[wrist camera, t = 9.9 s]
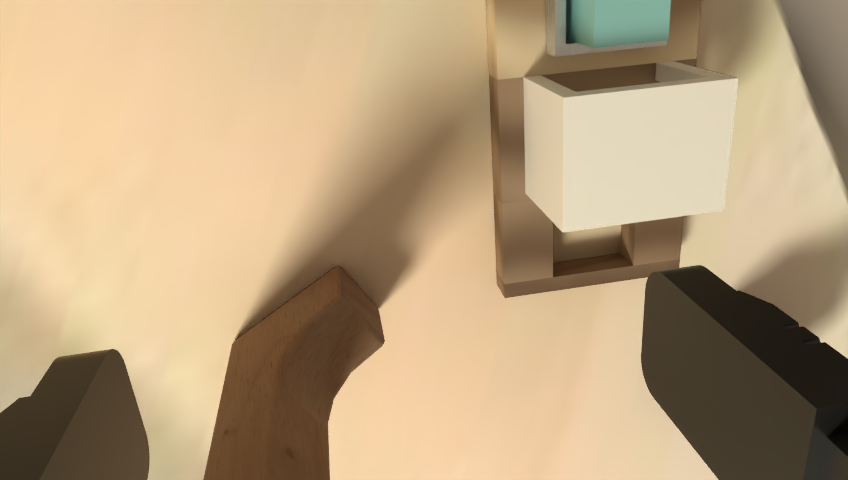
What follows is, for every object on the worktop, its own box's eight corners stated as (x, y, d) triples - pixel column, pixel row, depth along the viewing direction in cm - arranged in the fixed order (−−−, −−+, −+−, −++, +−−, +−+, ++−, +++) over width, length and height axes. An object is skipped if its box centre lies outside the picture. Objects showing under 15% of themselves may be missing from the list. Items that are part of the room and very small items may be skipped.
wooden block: (338, 261, 42) (356, 450, 26) (380, 309, 44) (422, 513, 27) (230, 341, 43) (179, 572, 27) (275, 384, 45) (254, 626, 28)
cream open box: (523, 77, 37) (563, 97, 31) (672, 61, 38) (738, 78, 32) (525, 193, 40) (562, 232, 34) (664, 175, 41) (724, 210, 35)
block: (566, -37, 35) (595, -38, 32) (636, -44, 36) (673, -45, 32) (565, 40, 37) (593, 47, 33) (633, 33, 37) (668, 40, 34)
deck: (483, -85, 36) (492, -88, 34) (690, -101, 37) (710, -105, 35) (497, 284, 44) (504, 297, 43) (664, 260, 46) (678, 272, 44)
